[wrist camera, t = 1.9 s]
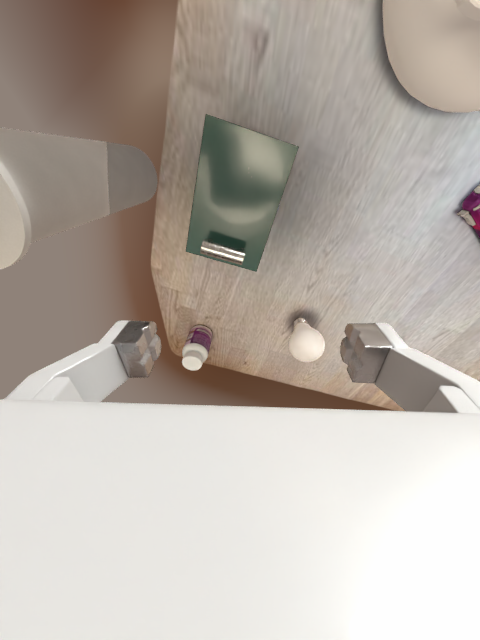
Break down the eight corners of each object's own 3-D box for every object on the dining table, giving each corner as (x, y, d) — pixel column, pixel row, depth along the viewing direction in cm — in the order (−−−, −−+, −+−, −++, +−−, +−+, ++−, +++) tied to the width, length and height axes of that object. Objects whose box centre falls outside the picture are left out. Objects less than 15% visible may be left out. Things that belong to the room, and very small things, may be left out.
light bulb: (320, 311, 49) (335, 346, 40) (308, 336, 52) (320, 372, 43) (290, 305, 48) (298, 338, 39) (280, 330, 52) (285, 365, 43)
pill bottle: (191, 321, 52) (179, 350, 44) (214, 327, 52) (207, 356, 45) (188, 339, 55) (177, 369, 47) (210, 344, 55) (202, 375, 48)
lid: (256, 269, 35) (256, 283, 31) (187, 249, 34) (177, 261, 30) (297, 147, 26) (305, 144, 23) (206, 114, 25) (197, 106, 21)
